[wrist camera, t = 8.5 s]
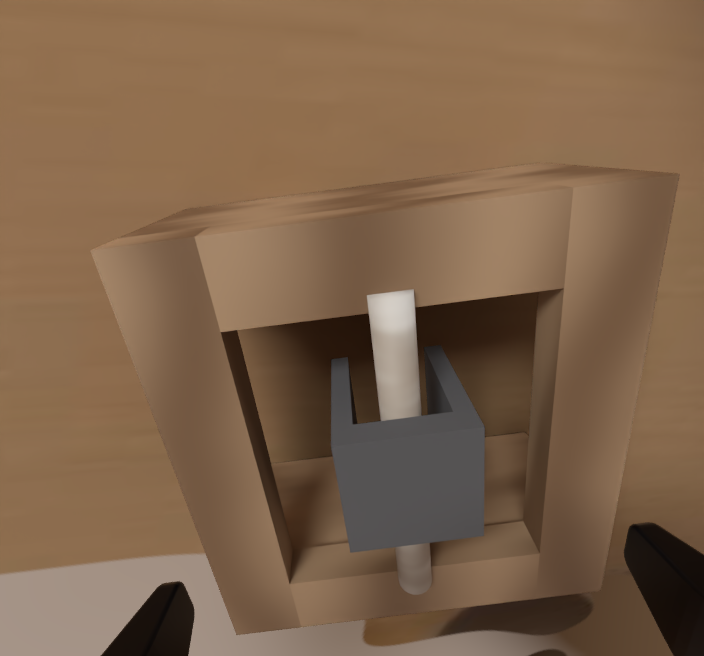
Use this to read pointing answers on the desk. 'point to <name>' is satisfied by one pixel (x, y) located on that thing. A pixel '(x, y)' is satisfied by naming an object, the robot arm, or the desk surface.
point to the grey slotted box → (409, 464)
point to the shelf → (399, 374)
